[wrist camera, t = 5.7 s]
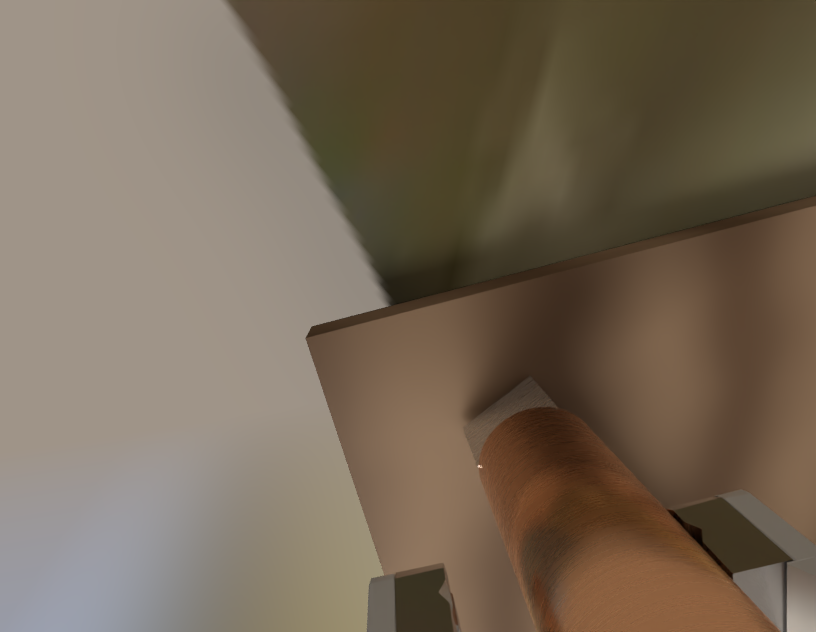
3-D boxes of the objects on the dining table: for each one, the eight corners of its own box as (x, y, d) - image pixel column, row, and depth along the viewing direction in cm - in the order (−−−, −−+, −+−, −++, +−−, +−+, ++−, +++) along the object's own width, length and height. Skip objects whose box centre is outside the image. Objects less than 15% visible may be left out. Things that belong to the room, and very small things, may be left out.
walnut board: (1043, 136, 14) (1484, 93, 8) (965, 657, 20) (1187, 829, 14) (311, 326, 14) (268, 408, 8) (462, 788, 20) (494, 1011, 14)
